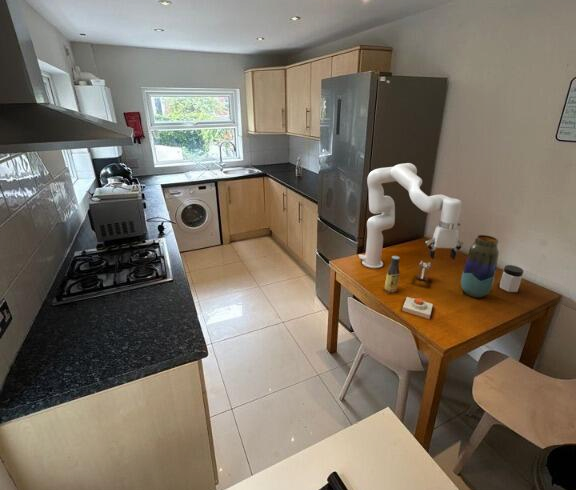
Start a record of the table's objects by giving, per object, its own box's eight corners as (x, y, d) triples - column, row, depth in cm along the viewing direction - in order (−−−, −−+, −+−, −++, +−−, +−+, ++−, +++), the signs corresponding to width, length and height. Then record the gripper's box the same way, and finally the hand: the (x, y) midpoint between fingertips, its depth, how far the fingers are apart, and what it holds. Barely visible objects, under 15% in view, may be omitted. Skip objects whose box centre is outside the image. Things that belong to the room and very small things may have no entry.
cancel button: (413, 303, 143) (414, 300, 143) (415, 299, 146) (415, 296, 146) (422, 306, 141) (422, 302, 141) (423, 302, 144) (423, 299, 144)
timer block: (402, 310, 144) (403, 303, 143) (406, 300, 152) (407, 293, 151) (429, 319, 138) (430, 311, 137) (432, 307, 146) (433, 300, 145)
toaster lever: (426, 282, 160) (426, 280, 158) (415, 280, 162) (416, 278, 160) (430, 266, 165) (430, 263, 164) (420, 264, 168) (420, 261, 166)
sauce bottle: (390, 295, 155) (395, 261, 148) (381, 289, 161) (385, 256, 154) (399, 292, 158) (404, 258, 151) (390, 286, 163) (395, 253, 157)
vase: (494, 295, 156) (509, 240, 145) (480, 303, 149) (495, 246, 138) (467, 283, 167) (480, 231, 156) (453, 290, 160) (465, 236, 149)
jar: (521, 290, 160) (528, 270, 156) (512, 294, 157) (518, 274, 153) (504, 282, 168) (509, 263, 164) (495, 286, 165) (500, 266, 160)
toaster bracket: (428, 288, 163) (432, 268, 158) (412, 284, 166) (415, 265, 162) (430, 279, 171) (434, 261, 167) (415, 276, 174) (419, 257, 170)
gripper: (463, 222, 143) (456, 255, 149) (426, 221, 145) (420, 254, 150) (471, 228, 136) (463, 261, 142) (432, 227, 138) (426, 260, 143)
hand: (441, 257), depth 146 cm, fingers open, 9 cm apart
